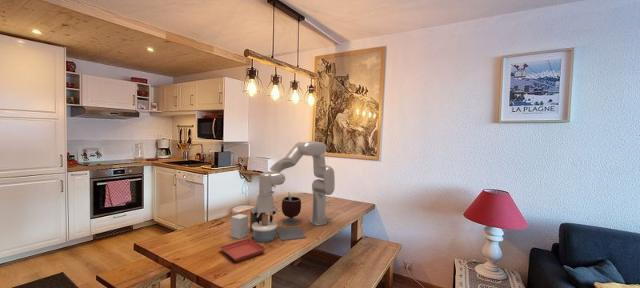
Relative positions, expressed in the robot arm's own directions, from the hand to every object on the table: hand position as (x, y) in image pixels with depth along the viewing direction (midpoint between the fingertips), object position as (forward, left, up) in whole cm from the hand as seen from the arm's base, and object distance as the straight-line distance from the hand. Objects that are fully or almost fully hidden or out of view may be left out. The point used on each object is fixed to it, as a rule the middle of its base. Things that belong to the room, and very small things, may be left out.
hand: (264, 222), depth 163 cm
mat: (-17, -3, -10) cm, 20 cm away
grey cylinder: (+2, -14, -10) cm, 17 cm away
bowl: (0, 0, -10) cm, 10 cm away
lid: (0, 0, -4) cm, 4 cm away
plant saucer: (+14, +16, -10) cm, 24 cm away
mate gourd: (-23, -24, -10) cm, 35 cm away
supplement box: (+14, -7, -10) cm, 19 cm away
